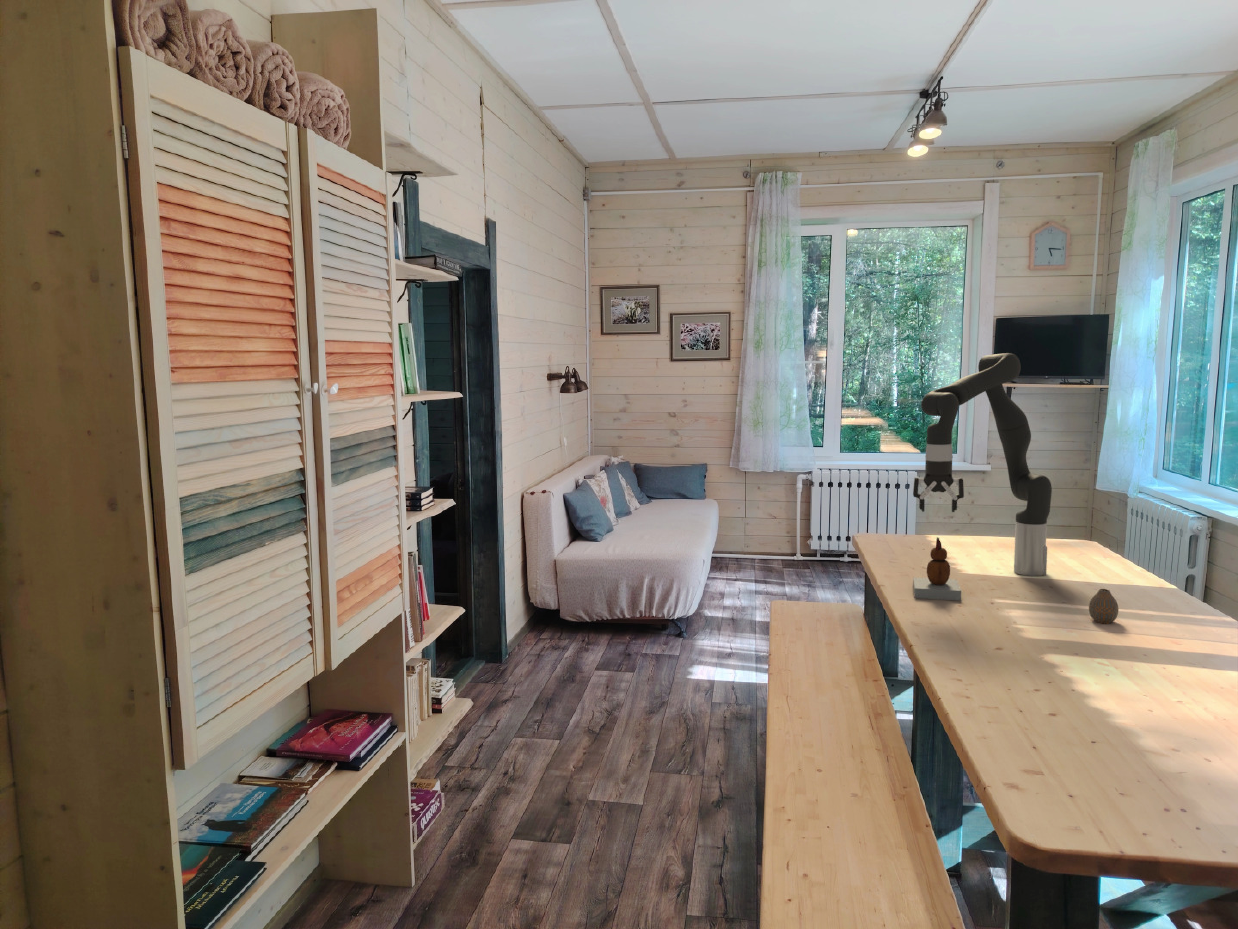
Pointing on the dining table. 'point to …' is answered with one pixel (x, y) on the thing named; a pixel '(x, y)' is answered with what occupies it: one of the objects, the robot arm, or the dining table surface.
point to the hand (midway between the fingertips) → (937, 511)
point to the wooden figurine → (938, 565)
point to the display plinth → (936, 589)
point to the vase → (1103, 607)
